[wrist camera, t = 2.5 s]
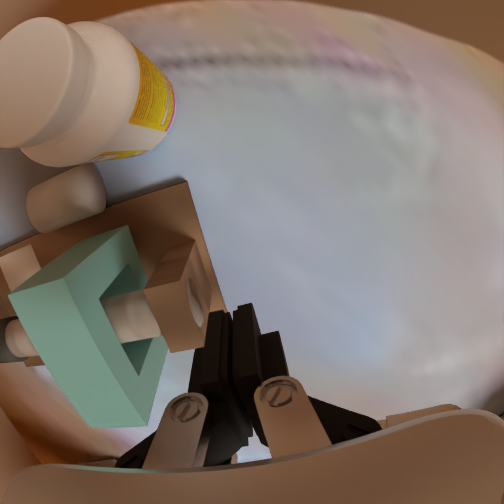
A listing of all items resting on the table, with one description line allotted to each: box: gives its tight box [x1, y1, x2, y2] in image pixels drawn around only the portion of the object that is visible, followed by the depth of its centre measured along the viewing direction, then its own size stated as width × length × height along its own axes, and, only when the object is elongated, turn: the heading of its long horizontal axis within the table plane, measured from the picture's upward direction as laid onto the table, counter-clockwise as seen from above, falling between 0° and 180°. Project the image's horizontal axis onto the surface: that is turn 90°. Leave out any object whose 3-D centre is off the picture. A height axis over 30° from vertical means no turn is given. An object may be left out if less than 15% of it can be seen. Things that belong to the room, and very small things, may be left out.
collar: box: [8, 225, 168, 428], centre depth 17 cm, size 9×4×9 cm, turn 14°
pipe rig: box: [0, 181, 227, 367], centre depth 19 cm, size 12×23×8 cm, turn 104°
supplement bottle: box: [0, 17, 177, 167], centre depth 12 cm, size 7×7×13 cm
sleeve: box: [26, 163, 106, 233], centre depth 18 cm, size 4×5×4 cm
